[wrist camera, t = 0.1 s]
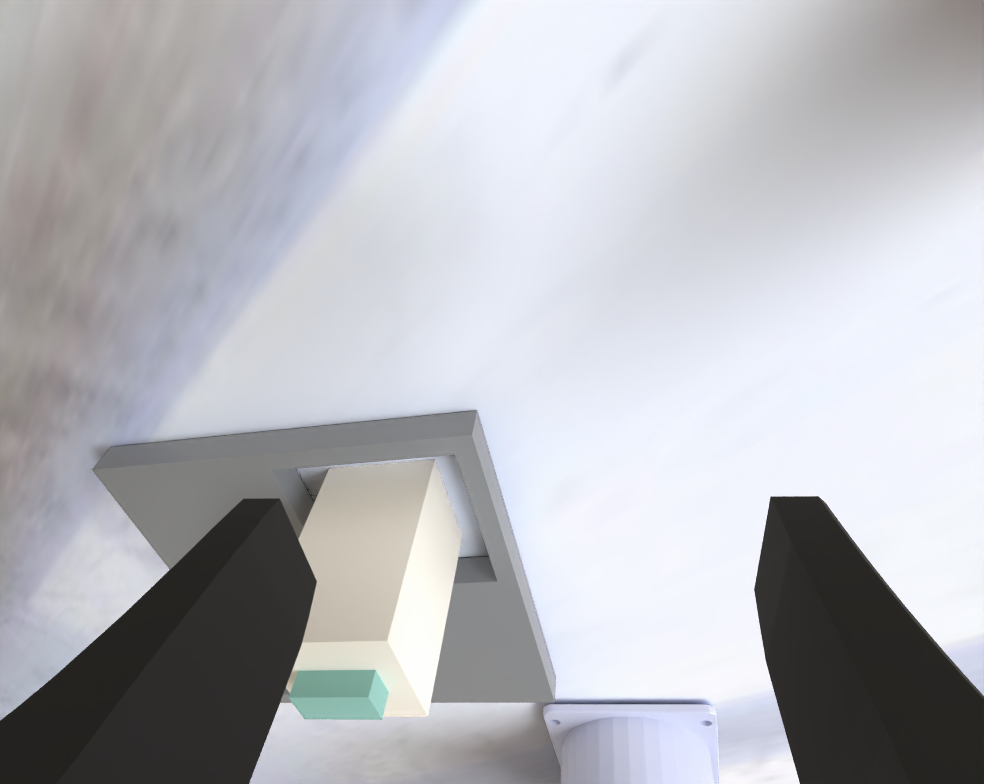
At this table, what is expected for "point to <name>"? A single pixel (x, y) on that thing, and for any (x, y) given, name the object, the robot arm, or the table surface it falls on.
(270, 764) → the table surface
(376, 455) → the socket panel
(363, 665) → the plug
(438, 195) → the table surface
